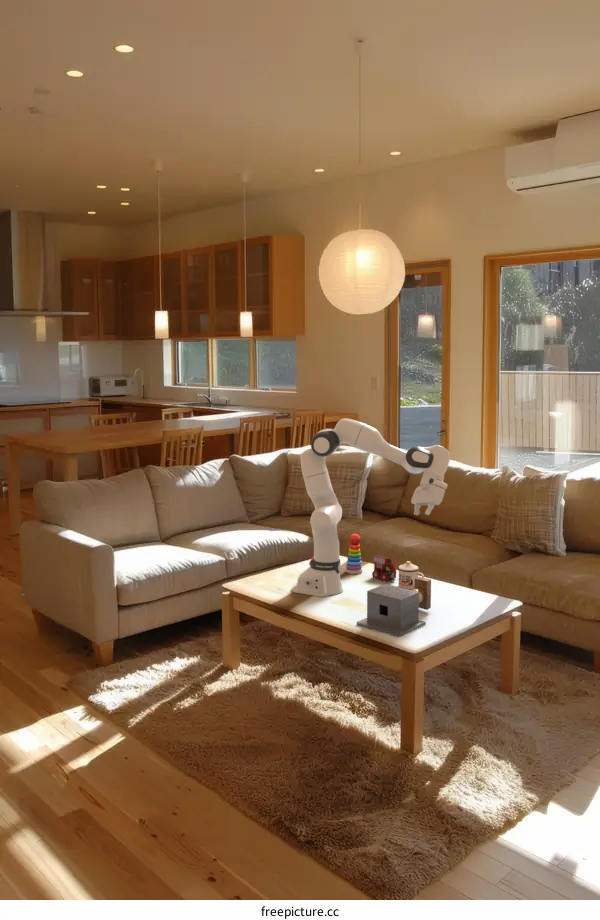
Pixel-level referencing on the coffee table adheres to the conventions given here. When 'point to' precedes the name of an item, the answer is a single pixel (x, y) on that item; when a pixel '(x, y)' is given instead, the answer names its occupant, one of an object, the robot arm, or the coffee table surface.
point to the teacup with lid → (408, 575)
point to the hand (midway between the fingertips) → (421, 514)
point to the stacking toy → (354, 556)
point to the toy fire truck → (383, 568)
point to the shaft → (423, 592)
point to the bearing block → (392, 610)
